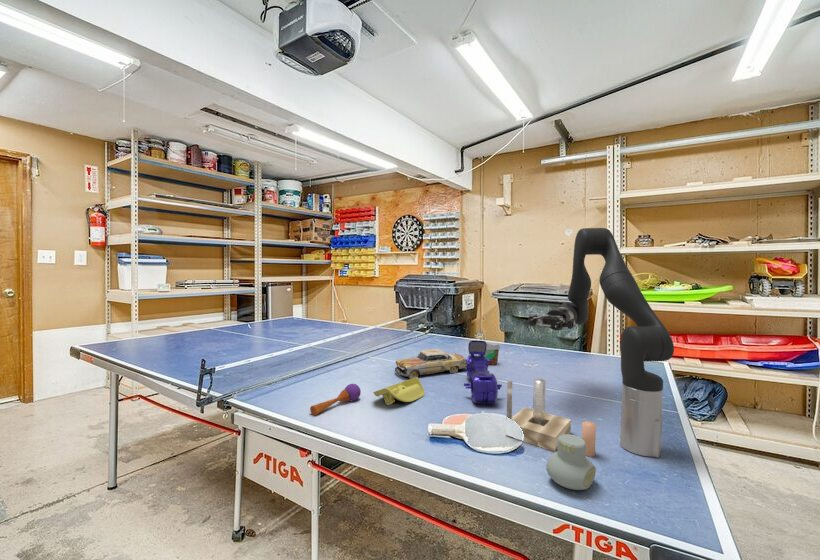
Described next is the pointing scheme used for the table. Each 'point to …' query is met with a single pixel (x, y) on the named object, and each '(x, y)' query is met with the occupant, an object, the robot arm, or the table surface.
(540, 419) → the steel pin
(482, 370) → the motorcycle
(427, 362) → the car
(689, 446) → the table surface
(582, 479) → the air freshener
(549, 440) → the socket block
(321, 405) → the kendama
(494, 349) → the food container
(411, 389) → the plastic component
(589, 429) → the terracotta pin
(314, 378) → the table surface
